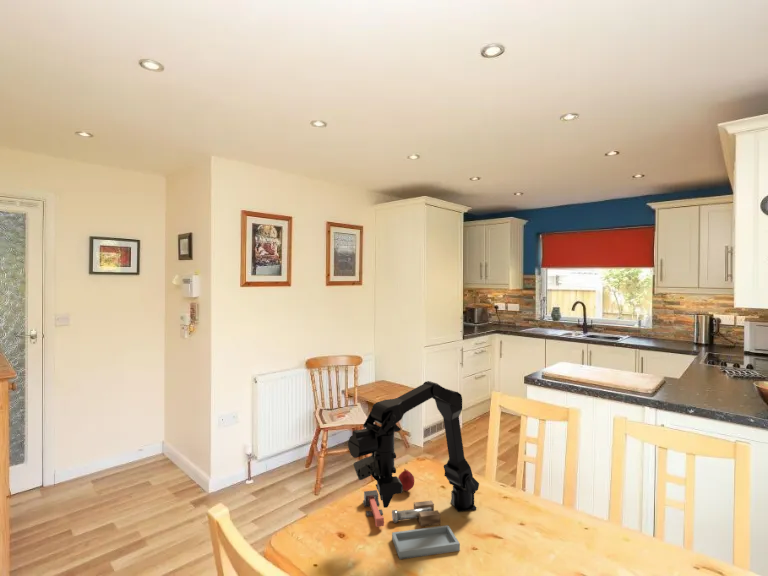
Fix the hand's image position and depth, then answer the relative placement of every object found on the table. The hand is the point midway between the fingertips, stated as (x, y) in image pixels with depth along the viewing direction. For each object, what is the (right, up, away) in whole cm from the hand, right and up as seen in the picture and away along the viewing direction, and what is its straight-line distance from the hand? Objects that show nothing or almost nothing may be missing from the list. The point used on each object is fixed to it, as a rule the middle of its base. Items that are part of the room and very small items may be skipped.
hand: (384, 503), depth 114 cm
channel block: (+13, -11, +12) cm, 21 cm away
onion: (+8, -11, +28) cm, 31 cm away
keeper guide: (-4, -11, +17) cm, 21 cm away
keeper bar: (-3, -11, +14) cm, 18 cm away
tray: (+12, -11, -1) cm, 16 cm away
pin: (+9, -11, +11) cm, 18 cm away
